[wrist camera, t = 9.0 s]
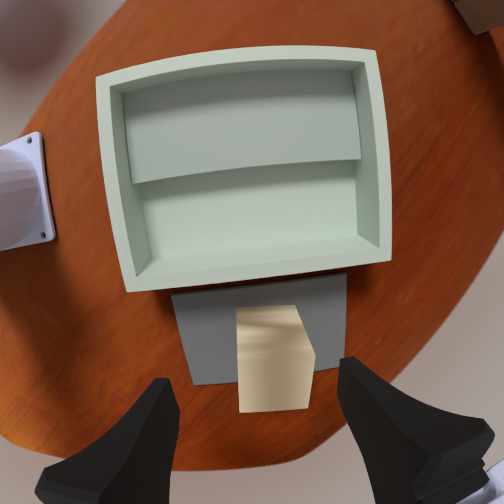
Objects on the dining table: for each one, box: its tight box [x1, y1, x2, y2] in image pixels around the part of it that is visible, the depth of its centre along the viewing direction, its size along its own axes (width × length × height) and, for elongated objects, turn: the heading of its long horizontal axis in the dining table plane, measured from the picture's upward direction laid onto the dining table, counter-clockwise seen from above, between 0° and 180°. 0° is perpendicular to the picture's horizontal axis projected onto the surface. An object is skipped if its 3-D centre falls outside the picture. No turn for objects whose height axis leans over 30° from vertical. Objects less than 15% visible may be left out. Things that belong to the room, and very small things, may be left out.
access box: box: [96, 46, 392, 292], centre depth 16 cm, size 15×12×4 cm
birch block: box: [236, 305, 316, 413], centre depth 18 cm, size 4×4×6 cm
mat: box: [171, 272, 347, 385], centre depth 21 cm, size 12×8×1 cm, turn 96°
